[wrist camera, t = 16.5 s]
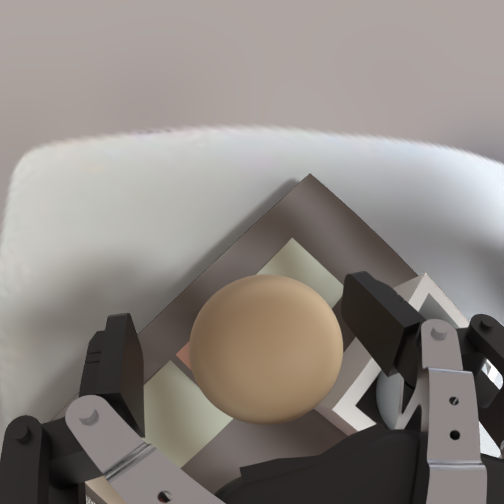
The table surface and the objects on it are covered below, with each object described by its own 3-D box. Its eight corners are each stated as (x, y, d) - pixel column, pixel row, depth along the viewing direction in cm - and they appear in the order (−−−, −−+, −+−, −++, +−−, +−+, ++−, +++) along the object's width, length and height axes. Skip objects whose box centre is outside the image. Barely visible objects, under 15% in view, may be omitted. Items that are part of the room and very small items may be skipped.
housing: (388, 290, 19) (425, 272, 15) (461, 368, 18) (500, 363, 14) (304, 400, 16) (331, 409, 12) (396, 471, 15) (432, 487, 11)
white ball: (394, 314, 18) (464, 289, 12) (449, 372, 17) (520, 364, 11) (334, 397, 16) (399, 409, 10) (400, 451, 15) (469, 470, 9)
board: (303, 184, 22) (310, 172, 21) (484, 369, 19) (497, 368, 18) (44, 434, 14) (33, 438, 12) (290, 602, 11) (295, 613, 9)
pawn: (232, 301, 17) (275, 205, 7) (288, 353, 17) (410, 334, 6) (178, 355, 16) (127, 345, 5) (235, 409, 15) (288, 486, 5)
